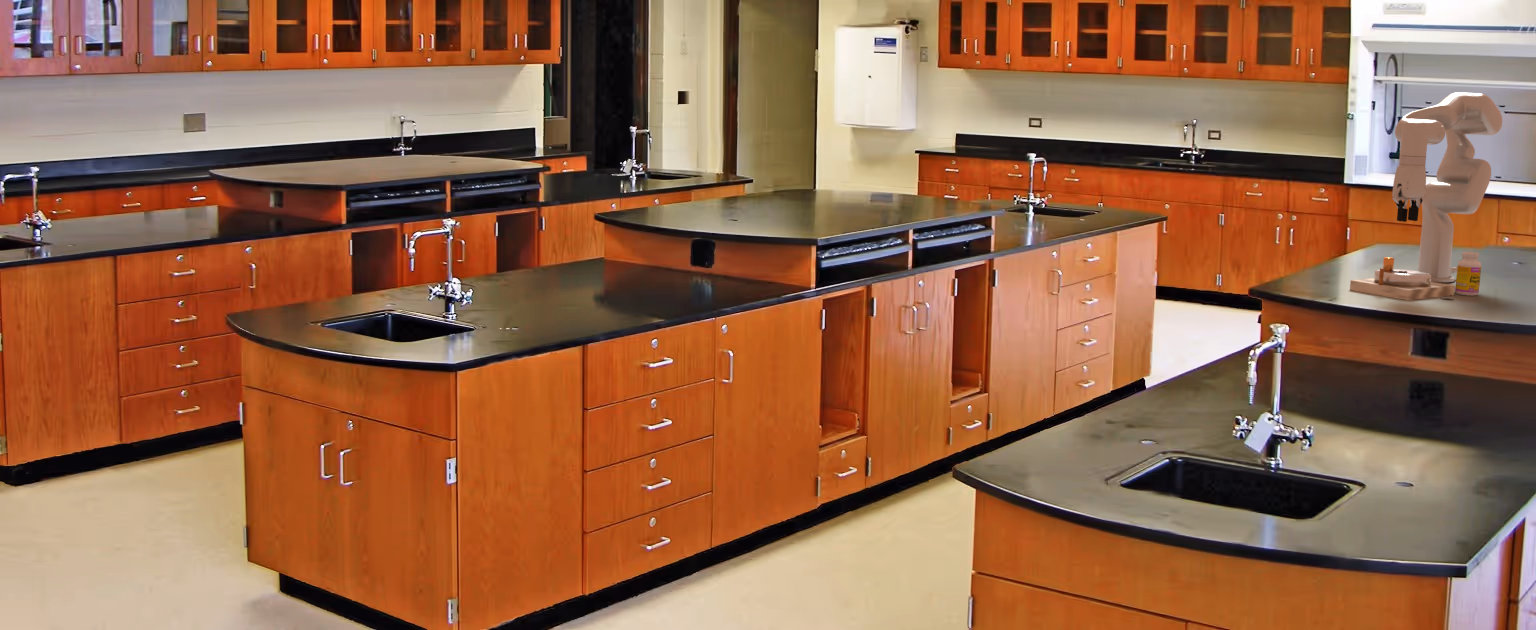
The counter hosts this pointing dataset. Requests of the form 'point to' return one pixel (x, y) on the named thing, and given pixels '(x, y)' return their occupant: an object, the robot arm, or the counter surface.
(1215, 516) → the counter surface
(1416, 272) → the dial
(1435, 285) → the dial base
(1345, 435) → the counter surface
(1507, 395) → the counter surface
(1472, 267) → the supplement bottle
